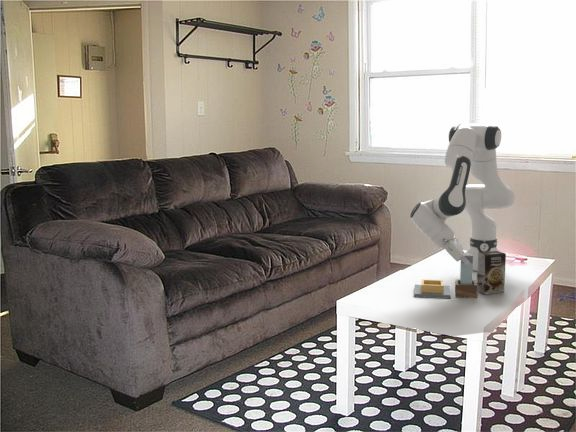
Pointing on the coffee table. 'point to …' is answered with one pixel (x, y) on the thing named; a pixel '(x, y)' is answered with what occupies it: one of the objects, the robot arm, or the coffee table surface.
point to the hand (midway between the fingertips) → (468, 262)
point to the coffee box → (491, 272)
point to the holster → (466, 289)
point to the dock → (432, 289)
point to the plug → (466, 270)
